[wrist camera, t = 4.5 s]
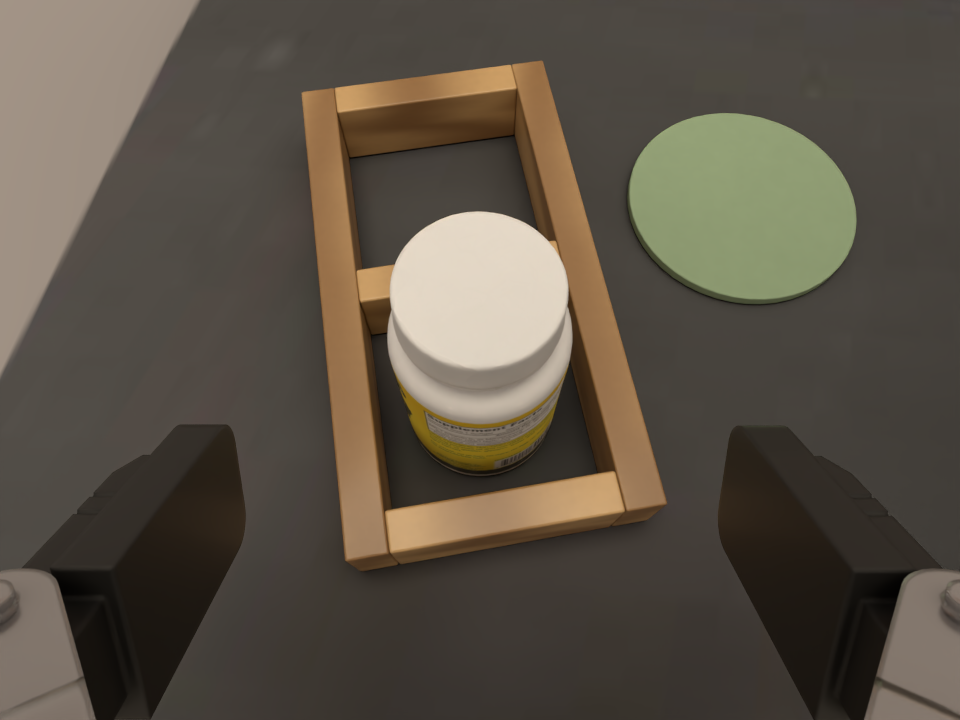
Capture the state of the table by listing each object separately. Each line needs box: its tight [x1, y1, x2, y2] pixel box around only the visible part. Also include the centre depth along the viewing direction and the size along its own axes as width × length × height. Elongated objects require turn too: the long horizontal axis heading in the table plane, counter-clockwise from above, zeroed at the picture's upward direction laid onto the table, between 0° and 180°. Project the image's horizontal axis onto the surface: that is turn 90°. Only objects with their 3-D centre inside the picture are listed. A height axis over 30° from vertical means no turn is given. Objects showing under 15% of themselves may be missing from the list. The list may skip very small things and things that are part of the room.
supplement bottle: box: [387, 212, 572, 476], centre depth 19 cm, size 5×5×8 cm
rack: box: [302, 61, 667, 571], centre depth 23 cm, size 9×17×2 cm, turn 10°
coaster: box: [627, 113, 856, 304], centre depth 26 cm, size 8×8×1 cm
